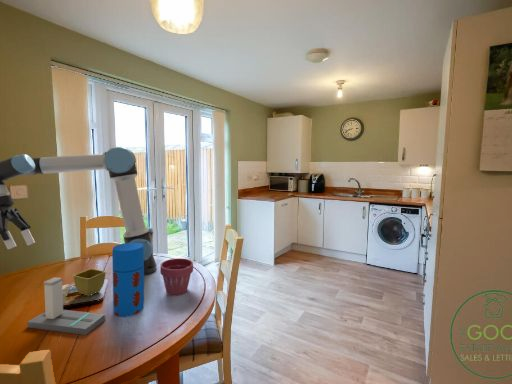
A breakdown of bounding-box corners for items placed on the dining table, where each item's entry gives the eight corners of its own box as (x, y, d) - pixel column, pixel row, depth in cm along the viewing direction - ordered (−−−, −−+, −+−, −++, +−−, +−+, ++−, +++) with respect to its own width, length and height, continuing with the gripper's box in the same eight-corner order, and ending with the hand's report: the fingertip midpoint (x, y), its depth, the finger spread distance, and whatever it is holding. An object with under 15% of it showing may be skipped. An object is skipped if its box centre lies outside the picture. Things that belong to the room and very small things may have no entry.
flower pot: (106, 291, 119) (106, 271, 118) (88, 299, 111) (88, 278, 110) (91, 287, 122) (91, 268, 121) (73, 296, 114) (72, 275, 113)
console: (27, 327, 91) (27, 321, 91) (51, 313, 100) (51, 307, 100) (85, 334, 88) (85, 328, 88) (105, 319, 97) (104, 314, 97)
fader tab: (45, 318, 93) (43, 282, 92) (55, 312, 97) (54, 277, 96) (53, 319, 92) (51, 282, 91) (63, 312, 96) (62, 278, 95)
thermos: (123, 320, 97) (122, 252, 95) (107, 311, 103) (106, 247, 100) (149, 307, 106) (149, 245, 104) (133, 299, 112) (132, 241, 110)
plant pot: (196, 294, 118) (197, 266, 117) (163, 301, 111) (163, 271, 110) (188, 282, 131) (188, 256, 130) (157, 287, 124) (157, 260, 123)
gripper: (7, 203, 119) (28, 246, 120) (-37, 200, 95) (-10, 254, 96) (26, 196, 121) (47, 238, 122) (-13, 191, 97) (14, 244, 98)
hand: (22, 245), depth 109 cm, fingers open, 13 cm apart
